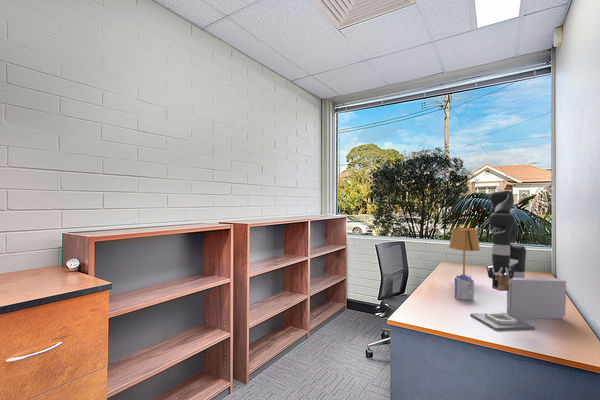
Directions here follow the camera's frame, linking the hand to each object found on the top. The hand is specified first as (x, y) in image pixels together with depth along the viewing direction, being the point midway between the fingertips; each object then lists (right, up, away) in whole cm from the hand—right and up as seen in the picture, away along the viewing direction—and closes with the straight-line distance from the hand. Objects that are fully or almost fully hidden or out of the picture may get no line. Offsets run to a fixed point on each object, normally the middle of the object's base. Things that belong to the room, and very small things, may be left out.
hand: (500, 286), depth 150 cm
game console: (+24, -18, +9) cm, 31 cm away
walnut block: (0, -1, 0) cm, 1 cm away
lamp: (+22, -18, +73) cm, 79 cm away
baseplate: (0, -18, 0) cm, 18 cm away
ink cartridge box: (+1, -18, +36) cm, 40 cm away
